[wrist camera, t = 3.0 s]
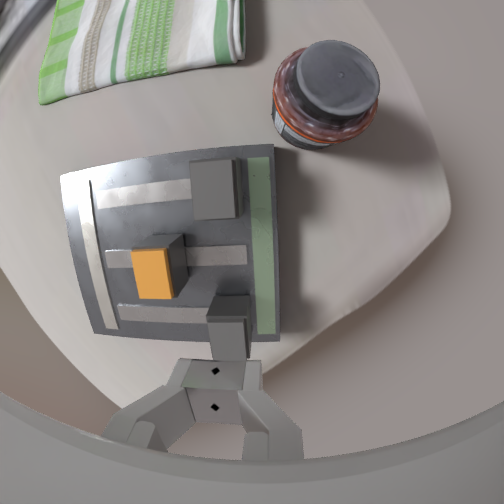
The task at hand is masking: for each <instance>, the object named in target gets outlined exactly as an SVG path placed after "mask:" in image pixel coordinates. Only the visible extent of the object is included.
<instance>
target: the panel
mask: <svg viewBox="0 0 504 504" xmlns="http://www.w3.org/2000/svg"><path fill="white" fill-rule="evenodd" d="M235 156H236V157H238V158H241V173H242V189H243V205H244V212H243V214H242V215H241V217H240V219H231V220H213V221H197V222H194V216H193V206H192V194H191V182H190V169H189V161H192V160H201V159H211V158H222V157H235ZM61 187H62V196H63V204H64V212H65V219H66V225H67V231H68V237H69V242H70V247H71V252H72V257H73V261H74V266H75V270H76V274H77V278H78V282H79V286H80V289H81V293H82V297H83V300H84V303H85V307H86V310H87V313H88V316H89V319H90V323H91V326H92V328H93V331H94V333H95V334H103V335H112V336H121V337H131V338H143V339H156V340H172V341H195V342H210V339H209V333H208V327H207V320H206V314H207V312H208V309H209V307H210V304H211V302H212V300H213V297H214V296H244V295H249V297H250V312H251V327H252V341H251V342H275V341H280V298H279V256H278V226H277V201H276V179H275V160H274V144H261V145H244V146H230V147H219V148H209V149H199V150H191V151H183V152H175V153H168V154H162V155H155V156H149V157H143V158H138V159H132V160H127V161H122V162H117V163H112V164H107V165H103V166H98V167H94V168H89V169H85V170H81V171H77V172H73V173H70V174H66V175H62V176H61ZM168 234H183V240H184V248H185V256H186V263H187V271H188V278H189V281H188V282H187V284H186V285H185V287H184V288H183V290H182V291H181V293H180V294H179V296H178V297H177V298H172V299H140V298H139V293H138V289H137V284H136V279H135V274H134V269H133V264H132V259H131V253H130V252H131V251H132V249H131V247H132V246H134V245H135V244H137V243H138V242H140V241H142V240H143V239H145V238H146V237H148V236H152V235H168Z"/></svg>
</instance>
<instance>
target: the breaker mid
mask: <svg viewBox="0 0 504 504" xmlns="http://www.w3.org/2000/svg"><path fill="white" fill-rule="evenodd" d="M131 249H132V251H131V252H130V253H131V259H132V264H133V269H134V274H135V279H136V284H137V289H138V293H139V298H140V299H172V298H177V297H178V296H179V294H180V293H181V291H182V290H183V288H184V287H185V285H186V284H187V282H188V281H189V278H188V271H187V263H186V256H185V248H184V240H183V234H168V235H152V236H148V237H146V238H145V239H143V240H142V241H140V242H138V243H137V244H135V245H134V246H132V247H131Z"/></svg>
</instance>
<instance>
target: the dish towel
mask: <svg viewBox="0 0 504 504" xmlns="http://www.w3.org/2000/svg"><path fill="white" fill-rule="evenodd" d="M245 20H246V18H245V0H57V3H56V8H55V13H54V19H53V24H52V29H51V33H50V38H49V43H48V47H47V50H46V53H45V56H44V60H43V63H42V67H41V70H40V74H39V88H38V96H39V104H40V105H45V104H49V103H53V102H55V101H58V100H60V99H63V98H66V97H69V96H73V95H76V94H81V93H86V92H90V91H94V90H97V89H100V88H103V87H106V86H110V85H113V84H116V83H121V82H127V81H132V80H138V79H144V78H149V77H154V76H162V75H168V74H171V73H174V72H179V71H183V70H188V69H193V68H201V67H207V66H213V65H217V64H231V63H236V62H237V60H243V59H244V58H245V53H246V44H245V36H246V25H245Z"/></svg>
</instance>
